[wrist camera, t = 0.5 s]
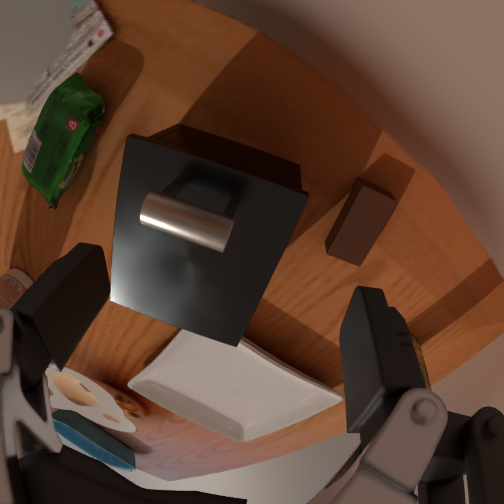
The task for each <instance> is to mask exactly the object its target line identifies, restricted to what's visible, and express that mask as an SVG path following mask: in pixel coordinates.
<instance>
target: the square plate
mask: <svg viewBox="0 0 504 504" xmlns="http://www.w3.org/2000/svg"><path fill="white" fill-rule="evenodd" d="M128 387H130V388H131V389H133V390H134V391H136V392H138V393H139V394H141V395H143V396H144V397H146V398H148V399H149V400H151V401H153V402H155V403H156V404H158V405H160V406H162V407H163V408H165V409H167V410H169V411H171V412H173V413H175V414H177V415H179V416H181V417H183V418H185V419H187V420H189V421H191V422H193V423H195V424H198V425H200V426H202V427H204V428H207V429H209V430H211V431H214V432H216V433H219V434H221V435H224V436H227V437H229V438H232V439H234V440H237V441H240V442H246V441H249V440H253V439H256V438H259V437H262V436H265V435H267V434H270V433H273V432H275V431H278V430H281V429H283V428H285V427H288V426H290V425H293V424H295V423H297V422H300V421H302V420H304V419H306V418H309V417H311V416H313V415H315V414H317V413H319V412H321V411H323V410H325V409H327V408H329V407H331V406H333V405H335V404H337V403H338V402H340V401H342V400H343V399H344V397H343V396H342V395H341V394H339V393H338V392H336V391H335V390H333V389H332V388H330V387H328V386H327V385H325V384H323V383H321V382H320V381H318V380H316V379H314V378H312V377H310V376H308V375H306V374H304V373H302V372H300V371H299V370H297V369H295V368H293V367H291V366H290V365H288V364H286V363H285V362H283V361H281V360H279V359H278V358H276V357H274V356H273V355H271V354H270V353H268V352H267V351H265V350H263V349H262V348H260V347H259V346H257V345H256V344H254V343H253V342H251V341H250V340H248V339H247V338H245V337H244V336H242V338H241V340H240V342H239V344H238V346H237V347H233V346H230V345H227V344H224V343H221V342H218V341H215V340H212V339H209V338H206V337H203V336H200V335H198V334H195V333H192V332H189V331H186V330H184V329H181V330H180V332H179V333H178V334H177V335H176V336H175V337H174V339H173V340H172V341H171V342H170V343H169V344H168V345H167V347H166V348H165V349H164V350H163V351H162V352H161V353H160V354H159V355H158V356H157V357H156V358H155V359H154V360H153V361H152V362H151V363H150V364H149V365H148V366H147V367H145V368H144V369H143V370H142V371H141V372H139V373H138V374H137V375H136V376H135V377H133V378H132V379H131V380H130V381H129V382H128Z"/></svg>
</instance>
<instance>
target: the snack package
mask: <svg viewBox="0 0 504 504" xmlns="http://www.w3.org/2000/svg"><path fill="white" fill-rule="evenodd" d="M104 116H105V102H104V100H103V97H102V96H101V95H99V94H97V93H95V92H93V91H92V90H91V89H90V88H89V87H88V86H87V85H86V84H85V83H84V81H83V77H82V76H81V75H80V74H79V73H77V72H76V73H75V74H73V75H72V76H71V77H69V78H68V79H67V80H65V81H64V82H63V83H62V84H60V85H59V86H58V87H56V88H55V89H54V90H53V92H52V93H51V94H50V96H49V97H48V99H47V101H46V102H45V104H44V106H43V108H42V110H41V113H40V115H39V117H38V120H37V123H36V125H35V127H34V129H33V132H32V134H31V136H30V139H29V142H28V145H27V147H26V150H25V153H24V157H23V161H22V172H23V175H24V176H25V178H26V180H27V182H28V183H29V184H30V185H31V186H33V187H34V188H36V189H37V190H38V191H39V192H40V193H41V194H42V195H43V197H44V198H45V199H46V201H47V202H48V204H49V205H50V206H51V207H49V209H50V208H54V209H56V208H57V204H58V201H59V199H60V197H61V196H62V194H63V193H64V192H65V190H66V189H67V188H68V187H69V185H70V184H71V182H72V181H73V179H74V177H75V175H76V173H77V171H78V169H79V167H80V165H81V163H82V161H83V159H84V157H85V155H86V153H87V151H88V149H89V147H90V146H91V144H92V142H93V140H94V138H95V137H96V135H97V133H98V131H99V130H100V128H101V125H102V123H103V120H104Z"/></svg>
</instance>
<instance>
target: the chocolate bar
mask: <svg viewBox="0 0 504 504" xmlns="http://www.w3.org/2000/svg"><path fill="white" fill-rule="evenodd" d="M396 204H397V200H396V199H395V198H394V197H393V195H392V194H391V193H390V192H388V191H386V190H384V189H382V188H380V187H378V186H376V185H374V184H372V183H370V182H367V181H365V180H363V179H361V178H359V177H358V178H357V180H356V182H355V184H354V186H353V188H352V190H351V192H350V194H349V196H348V198H347V200H346V202H345V204H344V206H343V208H342V210H341V212H340V214H339V216H338V218H337V220H336V221H335V223H334V225H333V227H332V229H331V231H330V233H329V235H328V237H327V239H326V241H325V246H326V252H327V254H328V255H331V256H333V257H336V258H338V259H341V260H344V261H346V262H349V263H352V264H354V265H357V266H359V267H360V266H361V264H362V263H363V261H364V259H365V258H366V256H367V254H368V253H369V251H370V249H371V248H372V246H373V244H374V243H375V241H376V239H377V238H378V236H379V234H380V233H381V231H382V229H383V227H384V226H385V224H386V222H387V220H388V219H389V217H390V215H391V213H392V212H393V210H394V208H395V206H396Z"/></svg>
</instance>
